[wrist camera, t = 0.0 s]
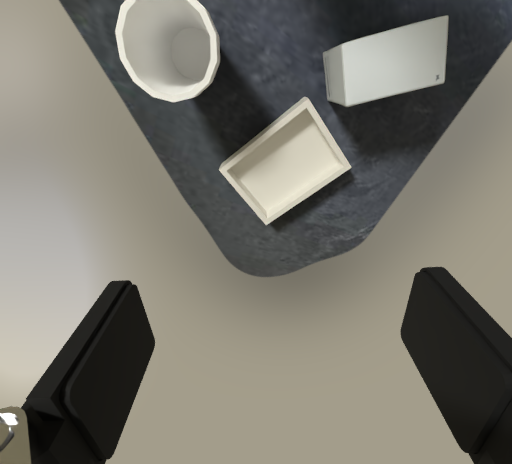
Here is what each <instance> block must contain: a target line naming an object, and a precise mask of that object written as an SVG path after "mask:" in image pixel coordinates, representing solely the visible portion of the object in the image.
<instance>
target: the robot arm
mask: <svg viewBox="0 0 512 464" xmlns="http://www.w3.org/2000/svg"><path fill="white" fill-rule="evenodd" d="M401 338H402V340H403V343H404V344H405V346H406V348H407V350H408V352H409V354H410V356H411V357H412V359H413V361H414V363H415V365H416V367H417V369H418V371H419V372H420V374H421V376H422V378H423V380H424V382H425V383H426V385H427V387H428V389H429V391H430V393H431V394H432V397H433V398H434V400H435V402H436V404H437V406H438V408H439V409H440V411H441V413H442V415H443V417H444V419H445V421H446V423H447V425H448V426H449V428H450V430H451V432H452V434H453V436H454V438H455V439H456V441H457V443H458V445H459V446H460V448H461V449H462V450H463V451H464V452H465V453H469V455H470V457H471V459H472V461H473V462H474V464H512V338H511V337H510V336H509V335H508V334H507V333H506V332H505V331H504V330H503V329H502V328H501V327H500V326H499V324H498V323H497V322H496V321H494V319H493V318H492V317H491V316H490V315H489V314H488V313H487V312H486V311H485V310H484V309H483V308H482V307H481V306H480V305H479V304H478V302H477V301H476V300H475V299H474V298H473V297H472V296H471V295H470V294H469V293H468V292H467V291H466V290H465V289H464V288H463V287H462V286H461V285H460V284H459V283H458V282H457V281H456V279H455V278H453V276H451V274H450V273H449V272H448V271H447V270H446V269H445V268H443V267H427V268H422V269H421V270H420V272H418V273H416V274H415V277H414V281H413V285H412V288H411V293H410V296H409V300H408V304H407V308H406V312H405V316H404V319H403V323H402V327H401ZM154 346H155V339H154V336H153V333H152V330H151V327H150V324H149V321H148V318H147V315H146V312H145V309H144V306H143V303H142V300H141V297H140V294H139V291H138V288H137V286H136V285H132V283H131V282H130V281H112V282H110V283H109V284H108V285H107V287H106V288H105V290H104V291H103V292H102V294H101V295H100V296H99V298H98V299H97V301H96V302H95V303H94V305H93V306H92V308H91V309H90V310H89V312H88V313H87V315H86V316H85V317H84V319H83V320H82V322H81V323H80V324H79V326H78V327H77V329H76V330H75V331H74V333H73V334H72V335H71V337H70V338H69V340H68V341H67V342H66V344H65V345H64V346H63V348H62V350H61V351H60V352H59V353H58V355H57V356H56V358H55V359H54V360H53V362H52V363H51V365H50V366H49V367H48V369H47V370H46V372H45V373H44V374H43V376H42V377H41V378H40V380H39V381H38V383H37V384H36V386H35V387H34V388H33V390H32V391H31V392H30V394H29V395H28V397H27V398H26V402H25V403H24V404H23V406H22V407H21V408H19V407H7V408H2V409H0V464H105V462H106V459H110V458H111V457H112V455H113V454H114V451H115V449H116V446H117V444H118V441H119V438H120V436H121V433H122V431H123V428H124V425H125V423H126V420H127V418H128V415H129V413H130V410H131V407H132V405H133V402H134V400H135V397H136V394H137V392H138V389H139V387H140V383H141V381H142V379H143V376H144V374H145V371H146V368H147V365H148V363H149V360H150V358H151V355H152V352H153V350H154Z"/></svg>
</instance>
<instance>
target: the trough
mask: <svg viewBox="0 0 512 464" xmlns="http://www.w3.org/2000/svg"><path fill="white" fill-rule="evenodd" d="M350 168H352V167H351V166H350V164H349V162H348V161H347V159H346V158H345V156H344V155H343V153H342V151H341V150H340V148H339V147H338V145H337V143H336V142H335V140H334V139H333V137H332V135H331V134H330V132H329V131H328V129H327V127H326V126H325V124H324V123H323V121H322V119H321V118H320V116H319V115H318V113H317V111H316V110H315V108H314V107H313V105H312V103H311V102H310V100H309V99H308V98H307V97H303V98H302V99H301V100H300V101H298V102H297V103H296V104H295V105H294V106H292V107H291V108H290V109H289V110H287V111H286V112H285V113H284V114H282V115H281V116H280V117H279V118H277V119H276V120H275V121H274V122H272V123H271V124H270V125H269V126H267V127H266V128H265V129H264V130H263V131H261V132H260V133H259V134H258V135H256V136H255V137H254V138H253V139H251V140H250V141H249V142H248V143H246V144H245V145H244V146H243V147H241V148H240V149H239V150H238V151H236V152H235V153H234V154H233V155H231V156H230V157H229V158H228V159H227V160H225V161H224V162H223V163H222V164H221V166H220V168H219V171H220V172H221V173H222V174H223V175H224V177H225V178H226V179H227V180H228V181H229V182H230V184H231V185H232V186H233V187H234V188H235V189H236V191H237V192H238V193H239V194H240V195H241V196H242V198H243V199H244V200H245V201H246V202H247V203H248V205H249V206H250V207H251V208H252V209H253V210H254V212H255V213H256V214H257V215H258V216H259V217H260V219H261V220H262V221H263V222H264V223H265V225H267V224H269V223H270V222H272V221H273V220H275V219H276V218H278V217H279V216H281V215H282V214H284V213H285V212H287V211H288V210H290V209H291V208H292V207H294V206H295V205H297V204H298V203H300V202H301V201H303V200H304V199H306V198H307V197H309V196H310V195H312V194H313V193H315V192H316V191H318V190H319V189H321V188H322V187H324V186H325V185H327V184H328V183H329V182H331V181H332V180H334V179H335V178H337V177H338V176H340V175H341V174H343V173H344V172H346V171H347V170H349V169H350Z"/></svg>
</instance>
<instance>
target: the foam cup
mask: <svg viewBox="0 0 512 464" xmlns="http://www.w3.org/2000/svg"><path fill="white" fill-rule="evenodd" d="M115 33H116V39H117V44H118V50H119V56H120V59H121V61H122V63H123V65H124V66H125V68H126V70H127V71H128V73H129V75H130V77H131V78H132V80H133V82H135V83H136V84H137V85H138V86H140V87H141V88H142V89H143V90H145V91H146V92H147V93H148V94H150V95H151V96H152V97H155V98H159V99H163V100H167V101H170V102H177V101H181V100H185V99H189V98H193V97H196V96H198V95H199V94H200V93H201V92H203V91H204V90H205V89H206V88H207V87H208V86H209V85H210V84H211V83H212V82H213V79H214V77H215V74H216V71H217V69H218V66H219V64H220V44H219V35H218V33H217V31H216V28H215V26H214V24H213V21H212V19H211V17H210V14H209V12H208V11H207V10H206V9H205V8H204V7H203V6H202V5H201V4H200V3H199V2H198V1H197V0H125V2H124V3H123V4H122V5H121V8H120V12H119V17H118V21H117V26H116V30H115Z"/></svg>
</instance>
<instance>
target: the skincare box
mask: <svg viewBox="0 0 512 464" xmlns="http://www.w3.org/2000/svg"><path fill="white" fill-rule="evenodd" d="M447 38H448V15H446V16H441V17H437V18H432V19H428V20H424V21H420V22H416V23H413V24H409V25H405V26H402V27H398V28H394V29H391V30H387V31H384V32H380V33H377V34H373V35H369V36H366V37H362V38H359V39H356V40H352V41H349V42H346V43H343V44H341V45H339V46H337V47H335V48H332V49H330V50H328V51H326V52H324V53H323V61H324V69H325V79H326V89H327V100H328V101H330V102H334V103H337V104H340V105H343V106H345V107H350V106H354V105H357V104H361V103H365V102H369V101H373V100H377V99H381V98H385V97H389V96H393V95H397V94H401V93H406V92H410V91H414V90H418V89H422V88H427V87H431V86H435V85H439V84H443V83H444V82H445V69H446V53H447Z"/></svg>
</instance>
